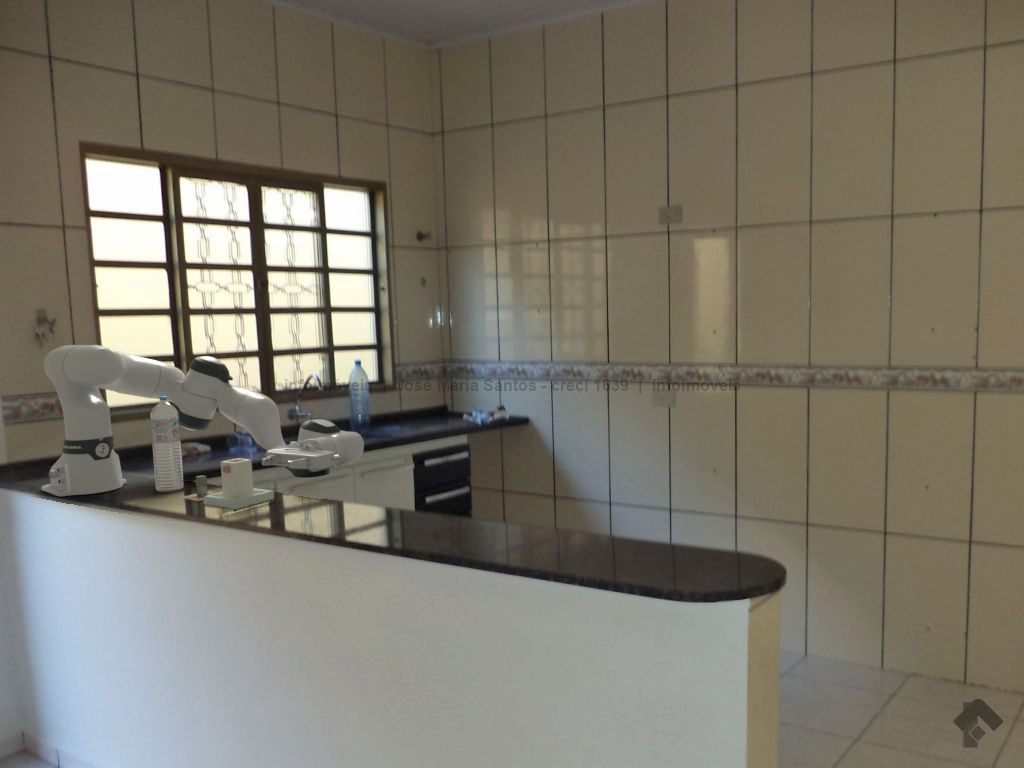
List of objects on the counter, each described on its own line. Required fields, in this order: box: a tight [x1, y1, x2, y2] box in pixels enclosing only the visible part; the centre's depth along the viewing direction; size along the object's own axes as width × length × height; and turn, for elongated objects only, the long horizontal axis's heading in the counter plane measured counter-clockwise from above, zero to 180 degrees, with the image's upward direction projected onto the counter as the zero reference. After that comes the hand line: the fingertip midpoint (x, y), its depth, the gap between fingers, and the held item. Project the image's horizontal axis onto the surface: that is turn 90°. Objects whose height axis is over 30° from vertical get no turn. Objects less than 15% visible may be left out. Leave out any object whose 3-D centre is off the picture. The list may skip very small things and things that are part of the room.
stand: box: [179, 475, 216, 502], centre depth 209 cm, size 8×8×6 cm
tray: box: [203, 487, 275, 512], centre depth 202 cm, size 11×11×2 cm
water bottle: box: [149, 396, 185, 493], centre depth 219 cm, size 7×7×25 cm
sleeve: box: [220, 457, 254, 499], centre depth 201 cm, size 5×6×10 cm
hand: (276, 463), depth 211 cm, fingers open, 8 cm apart
